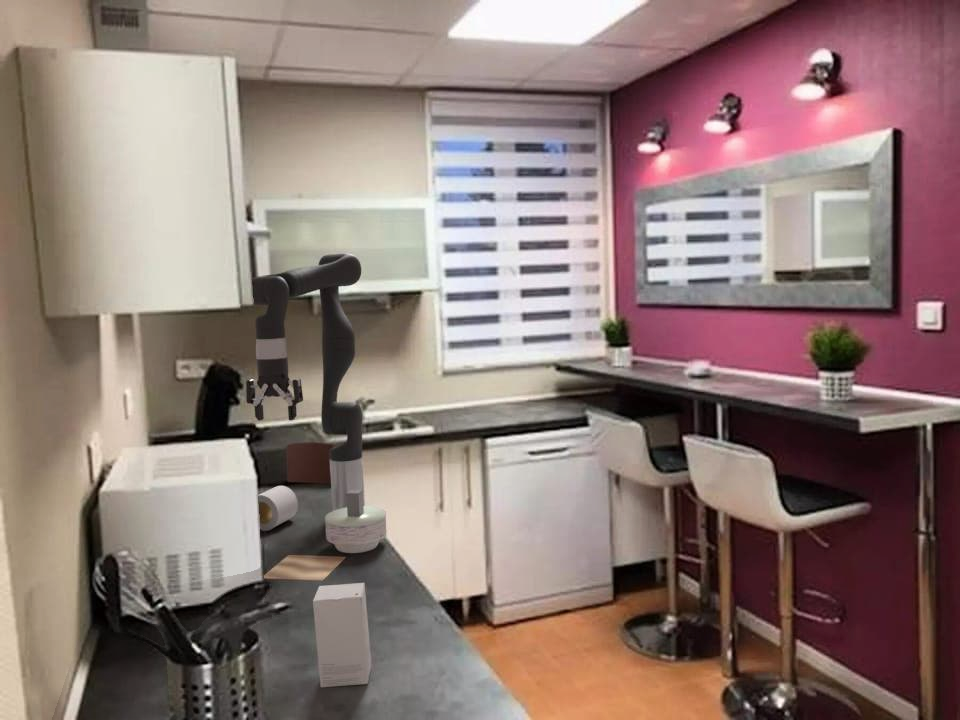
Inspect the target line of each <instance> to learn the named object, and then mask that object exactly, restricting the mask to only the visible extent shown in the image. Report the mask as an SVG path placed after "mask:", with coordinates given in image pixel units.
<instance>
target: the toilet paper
mask: <svg viewBox="0 0 960 720" xmlns="http://www.w3.org/2000/svg"><path fill="white" fill-rule="evenodd" d="M258 503H259V514H260V527H261V530H260V531H262V532H264V531H265V532H267V531H271V530H272V529H274V528H275V527H277V526H279V525H281V524H283V523H285V522H287V521H289V520H290V519H292V518H294V517H295V516H296V513H297V512H298V509H299V502H298V497H297V495H296V494H295V492H294V491H293V490H292V489H291V488H289V487H288V486H285V485H277V486H275V487H273V488H270V489H268V490H266V491H263V492H262V493H260V494H259V493H258Z"/></svg>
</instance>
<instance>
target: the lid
mask: <svg viewBox="0 0 960 720" xmlns="http://www.w3.org/2000/svg"><path fill="white" fill-rule="evenodd" d="M346 498H347V507H346V508H341V509H337V510H334V511H333V510H332V511H330V512H327V514H325V517H324V519H325V520H324V521H325V522H326V523H327V524H329V525H332V526H336V527H360V526H367V525H371V524H375V523H377V522H380V521H382V520H383V519H385V517H386V518H387V511H386V510H385V508H382V507H379V506H372V505H365V506H363V490H350V491H348V492H347V493H346Z"/></svg>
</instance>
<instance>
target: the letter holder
mask: <svg viewBox="0 0 960 720" xmlns="http://www.w3.org/2000/svg"><path fill="white" fill-rule="evenodd" d="M335 446H338V445H337V444H333V443H332V444H331V443H325V442H317V441H316V442H315V441H314V442H313V441H311V442H310V441H309V442H308V441H305V442H303V441H302V442H293V443H288V444H286V448H285V449H286V452H285V453H286V471H287V472H286V474H287V475H286V476H287V477H286V478H287V482H288V483H301V484H302V483H303V484H322V485H323V484H325V485H327V484H328V485H331V474H330V457H329V452H330V449H331V448H333V447H335Z"/></svg>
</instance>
